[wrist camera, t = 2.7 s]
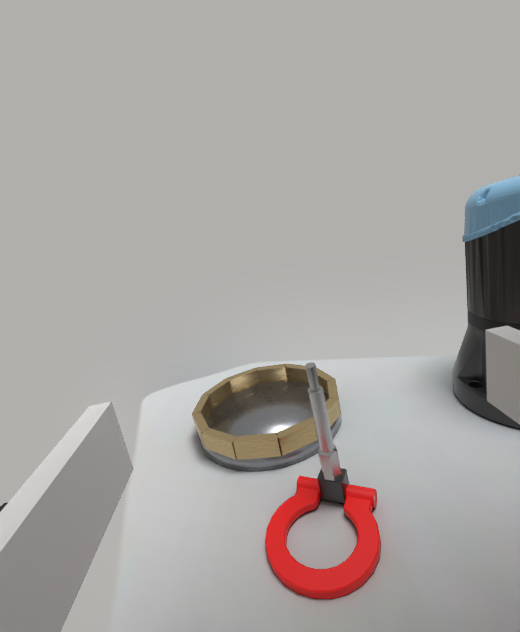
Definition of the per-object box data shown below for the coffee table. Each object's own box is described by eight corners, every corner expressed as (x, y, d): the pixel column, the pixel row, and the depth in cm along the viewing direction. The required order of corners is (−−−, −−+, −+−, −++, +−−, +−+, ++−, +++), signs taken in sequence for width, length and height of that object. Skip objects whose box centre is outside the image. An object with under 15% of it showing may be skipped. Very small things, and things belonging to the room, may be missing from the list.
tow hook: (370, 624, 21) (389, 500, 29) (338, 449, 17) (370, 360, 25) (249, 581, 25) (294, 482, 33) (200, 431, 21) (264, 359, 29)
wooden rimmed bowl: (363, 398, 44) (360, 372, 43) (291, 493, 32) (285, 460, 31) (257, 380, 55) (253, 359, 54) (172, 446, 42) (164, 420, 41)
